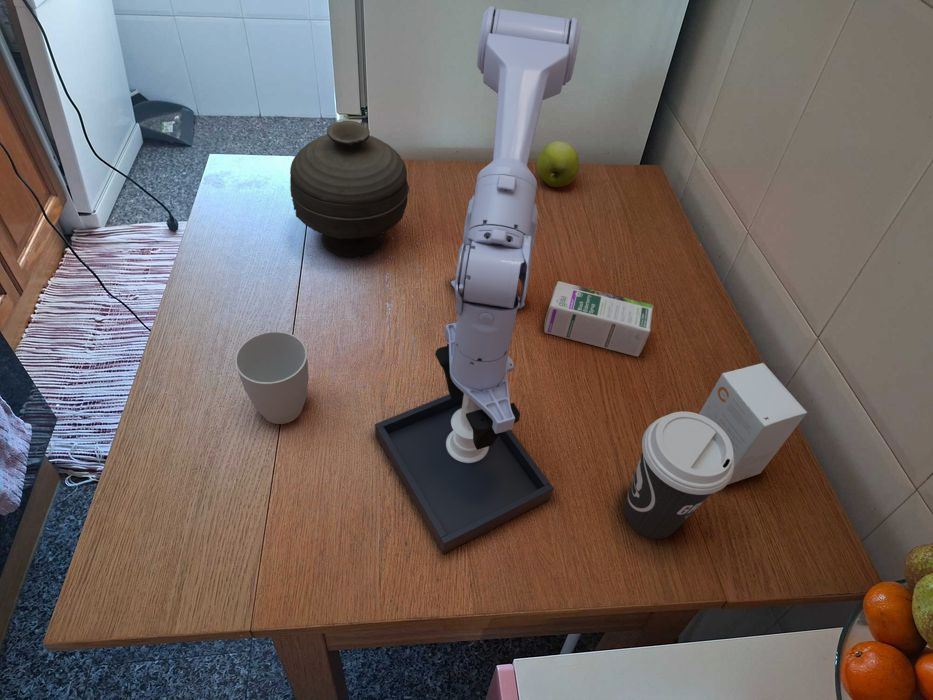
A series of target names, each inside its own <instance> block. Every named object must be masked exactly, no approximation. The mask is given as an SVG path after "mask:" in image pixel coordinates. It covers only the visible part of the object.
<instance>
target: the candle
mask: <svg viewBox="0 0 933 700" xmlns="http://www.w3.org/2000/svg"><path fill="white" fill-rule="evenodd" d="M480 409H481V408H480V407H479V406H478V405H476V404H475V403H474V402H473V401H472V400H471V399H470V398H469V397H468V396H467V395H465V394H464V396H463V404H462V408H461V409H459V410H457V411H456V412H455V413H454V414H453V416H452V419H451V426H452V428H453V431H452V432H451V433H450V434H449V435H448V437H447V440H446V448H447V451H448V452H449V454H450V455H451V456H452V457H453V458H454V459H456V460H458V461H460V462H463V463H474V462H477V461H479V460H481V459H482V458H484V457H485V455H486V454H487V452H488V449H489V446H488V447H485V448H482V449H478V450H477V449H476V447H475V445H474V442H473V429H472V427H471V426H470V424H469V421H468V419H467V417H466V413H470V412H473V411H477V410H480Z"/></svg>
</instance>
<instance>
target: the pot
mask: <svg viewBox="0 0 933 700" xmlns="http://www.w3.org/2000/svg"><path fill="white" fill-rule="evenodd" d="M370 134H371V131H370V129H369V128H368V127H367V128H366V127H365V126H364V125H363V124H362V123H360V122H359V121H356V120H355V121H354V120H342V121H336V122H333V123H330V124H329V125H328V127H327V129H326V134H325V135H321V136H319V137H317V138H314V140H311V141H310V142H309V143H307V144H305V145H304V147H302V148H301V149H299V151H298V152H297V154H295V155H294V157H293V159H292V162H291V164H290V169H289V170H290V171H289V175H290V176H289V177H290V178H289V183H290V186H289V188H290V189H289V190H290V196H291V199H292V200H291V201H292V206H293V210H294V211H295V217H296V218H297V219H298V220H299V221H300V222H302V223H303V224H304V225H305V226H306V227H308V228H310V229H312V230H313V231H314V232H316V233H318V234H320V235H321V238H320V240H321V245H322V247H323V248H324V249H325V250H326V251H327V252H329V253H330V254H332V255H334V256H337V257H338V258H343V259H354V260H355V259H361V258H365V257H368V256H370V255H372V254H375V253H376V252H377V251H378V250H380V249H381V248H382V246H383V244H384V241H385V236H384V233H387V232H388V231H389V230H391V229H392V228H394V227H395V226H397V224H398V223H399V222H400V221H401V220H402V219H403V217H404V215H405V211H406V209H407V206H408V201H409V199H408V198H409V197H408V195H409V191H410V185H409V182H408V170H407V167H406V163H405V162H404V160H403V159H402V156H401V155H400V154H399V153H398V151H396V150H395V149H394V148H393V147H392V146H391V145H390V144H388V143H387V142H385V141H383V140H381V139H379V138H377V137H376V136H373V135H370Z"/></svg>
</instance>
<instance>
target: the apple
mask: <svg viewBox="0 0 933 700" xmlns="http://www.w3.org/2000/svg"><path fill="white" fill-rule="evenodd" d="M579 169H580V158H579V153H578V152H577V150H576V148H575V147H574V146H572V144H570V143H568V142H566V141H561V140H554V141H551V142H550V143H548V144H547V145H545V146H544V147H543V148H542V149H541V151H540V152H539V155H538V157H537V161H536V171H537V175H538V177H539V178H540V179H541V180H542V181H543V182H544V183H545V184H546V185H548V186H549V187H552V188H562V187H565V186H568V185H570V184H571V183H572V182H573V181H574V180H575V178H576V177H577V175H578V172H579Z"/></svg>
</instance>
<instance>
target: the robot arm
mask: <svg viewBox="0 0 933 700" xmlns="http://www.w3.org/2000/svg"><path fill="white" fill-rule="evenodd" d="M481 20H482V21H481V24H480V25H481V26H480V31H479V39H478V40H479V41H478V48H477V62H476V66H477V68H478V70H479V71H480V73H481V74H482V76H483V77H482V82H483V85H485V86H487V88H490V89H491V90H492V91H494V92H495V94H497V99H496V101H497V102H496V112H495V113H496V114H495V128H494V142H493V143H494V144H493V154H492V155H493V156H492V160H491V162H490V163H489V164H487V165H486V166H485V167H483V168H482V169H481V170H480V171H479V172H478V174H477V176H476V182H475V189H474V194H473V195H472V196H471V199H469V201H468V206H467V211H466V215H465V220H464V227H463V228H464V229H463V234H462V237H463V238H462V244H461V245H460V247H459V250H458V254H457V257H458V258H457V265H456V272H455V279H453V280H451V281H450V285H451V287H452V288H453V289H454V293H455V301H456V302H455V314H457V316H456V322H452V323H449V324H445V327H444V338H445V340H446V342H447V344H446V345H445V346H441V347H438V348H437V349H436V350H435V354H434V355H435V357H436V359H437V361H438V363H439V365H440V366H441V368H442V370H443V373H444V377H445V380H446V385H447V390H448V394H450V396H451V398H452V399H454V398H458V397H461V396H464V394H465V395H467V396H468V397H469V398H470V399H471V400H472V401H473V402H474V403H475V404H476V405H478V406H479V407H480V408H481V409H480V410H477V411H473V412H470V413H466V417H467V419H468V421H469V424H470V426H471V427H472V429H473V442H474V445H475V447H476V449H477V450H478V449H482V448H485V447H488V446H491V445H493V443H494V442H495V440H496V439H497V437H498V436H499V435H500V434H501V433H502V432H505V431H507V430H511V431H512V429H514V425H515V424H517V423H519V422H520V418H521V413H520V411H519V409H518V407H517V405H516V403H515V402H511V400H510V399H511V398H510V389H509V381H508V373H511V372H513V371H514V369H515V363H514V362H513V359H512V358H511V356H509V353H510V347H511V344H512V338H513V334H514V328H515V324H516V317H517V313H518V310H519V309H520V310H521V309H522V308H524V307H525V301H526V297H527V292H528V287H529V281H530V275H531V269H532V268H531V267H532V256H533V251H534V246H535V241H536V233H537V227H538V216H539V210H538V207H537V204H536V203H535V202H536V197H537V189H538V182H537V179H536V177H535V176H534V174H533V173H532V171H531V170H530V168H529V166H528V163H529V159H530V156H531V155H530V154H531V150H532V146H533V142H534V138H535V134H536V129H537V125H538V121H539V117H540V113H541V108H542V104H543V101H545V100H548V99H550V98H553V97H556V96H557V95H560V94H561V92H562V89H563V86H566V85H567V83H569V82H570V81H571V80H572V76H573V74H574V69H575V64H576V60H577V54H578V48H579V42H580V35H581V24H580V23H579V21H578V18H576V17H571V18H566V17H560V16H553V15H545V14H540V13H539V14H538V13H531V12H530V13H529V12H524V11H517V10H510V9H504V8H503V9H502V8H496V6H494V5H489V6H488V8H486V10H485V11H484V12H483V15H482V19H481ZM519 281H520V286H521V288H520V296H519V293H518V287H519V284H518V283H519Z"/></svg>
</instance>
